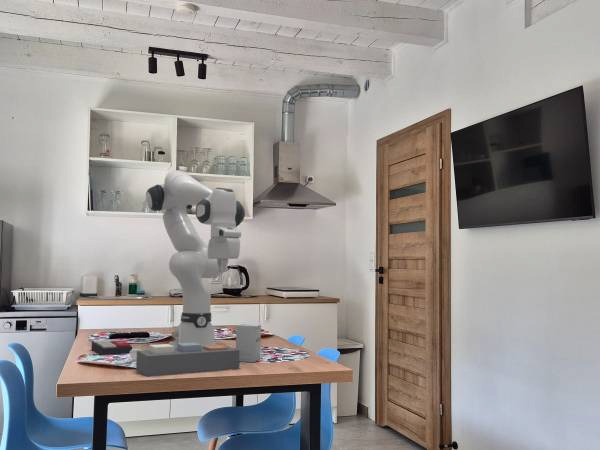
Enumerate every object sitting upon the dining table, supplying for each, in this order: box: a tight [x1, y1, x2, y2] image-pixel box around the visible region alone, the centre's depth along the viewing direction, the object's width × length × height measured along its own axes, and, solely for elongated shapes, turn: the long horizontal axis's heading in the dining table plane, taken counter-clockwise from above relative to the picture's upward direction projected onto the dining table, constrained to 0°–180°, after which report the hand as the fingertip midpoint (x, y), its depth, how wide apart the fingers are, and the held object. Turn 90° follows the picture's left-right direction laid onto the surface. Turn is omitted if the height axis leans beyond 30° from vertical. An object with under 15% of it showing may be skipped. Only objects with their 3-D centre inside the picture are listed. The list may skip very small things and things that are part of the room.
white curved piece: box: [123, 348, 141, 363], centre depth 196 cm, size 9×8×4 cm
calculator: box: [90, 338, 133, 356], centre depth 215 cm, size 11×4×15 cm
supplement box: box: [235, 323, 262, 363], centre depth 201 cm, size 7×7×13 cm
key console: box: [135, 345, 240, 377], centre depth 181 cm, size 12×30×6 cm, turn 121°
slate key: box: [177, 343, 201, 353], centre depth 181 cm, size 6×6×4 cm
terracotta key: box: [203, 344, 227, 351], centre depth 186 cm, size 6×6×4 cm
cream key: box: [148, 343, 174, 354], centre depth 177 cm, size 6×6×4 cm
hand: (222, 272), depth 199 cm, fingers closed
